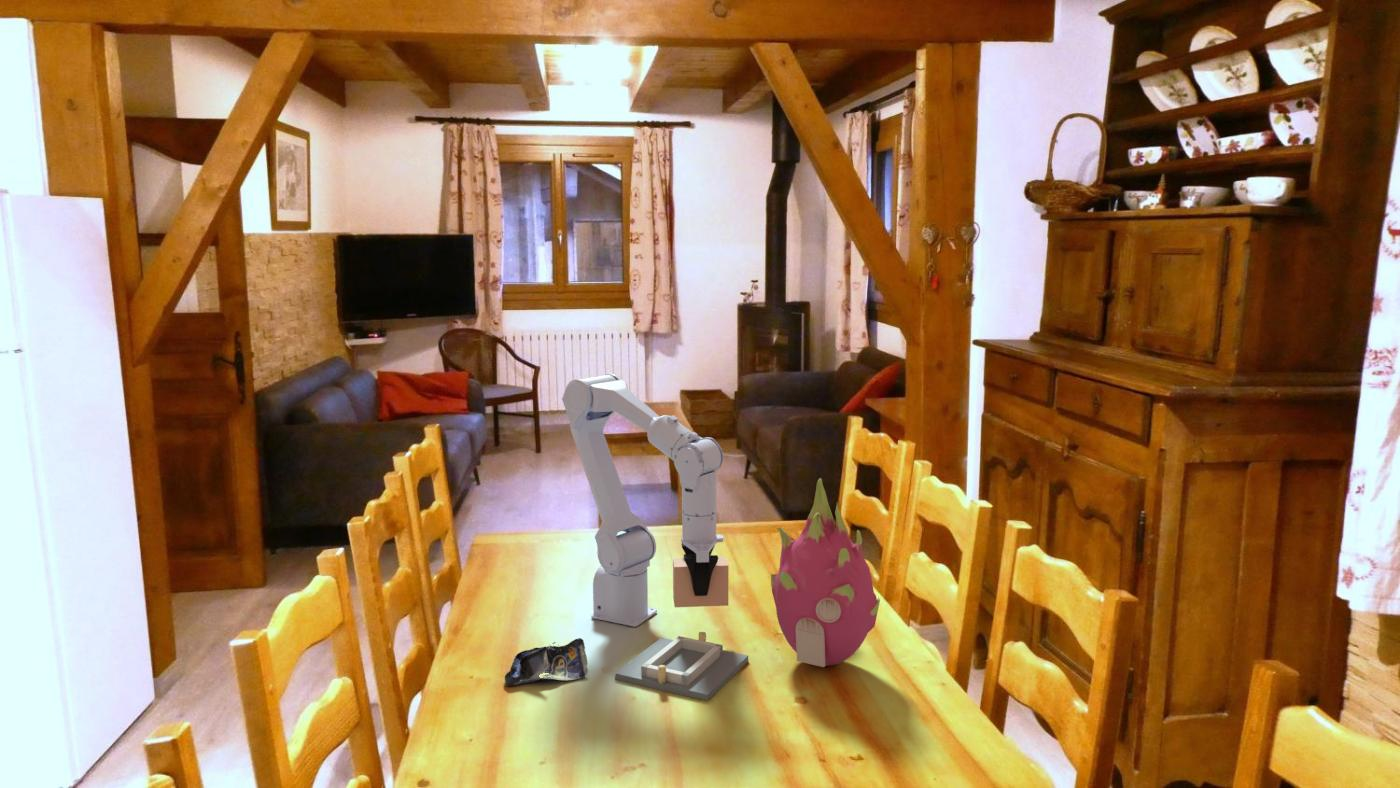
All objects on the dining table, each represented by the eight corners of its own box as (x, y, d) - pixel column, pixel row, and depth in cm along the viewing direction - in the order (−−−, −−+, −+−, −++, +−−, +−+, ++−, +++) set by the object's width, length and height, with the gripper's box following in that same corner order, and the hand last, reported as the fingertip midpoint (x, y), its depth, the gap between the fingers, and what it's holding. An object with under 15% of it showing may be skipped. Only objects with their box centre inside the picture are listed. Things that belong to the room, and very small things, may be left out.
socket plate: (615, 679, 149) (614, 658, 149) (661, 643, 163) (661, 623, 162) (707, 701, 142) (707, 678, 142) (748, 661, 156) (748, 640, 155)
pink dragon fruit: (756, 672, 152) (757, 487, 147) (781, 638, 164) (783, 467, 159) (868, 691, 145) (873, 498, 140) (885, 655, 158) (891, 477, 153)
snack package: (552, 703, 142) (600, 670, 152) (544, 661, 142) (593, 630, 152) (491, 697, 149) (541, 665, 159) (483, 656, 148) (534, 627, 158)
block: (674, 607, 160) (674, 567, 159) (673, 597, 165) (672, 558, 164) (728, 605, 161) (728, 565, 160) (725, 595, 165) (725, 556, 164)
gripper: (727, 523, 153) (727, 604, 156) (718, 499, 168) (719, 574, 170) (683, 524, 153) (684, 606, 155) (678, 500, 167) (679, 575, 169)
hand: (699, 589), depth 162 cm, fingers closed on block, 4 cm apart
